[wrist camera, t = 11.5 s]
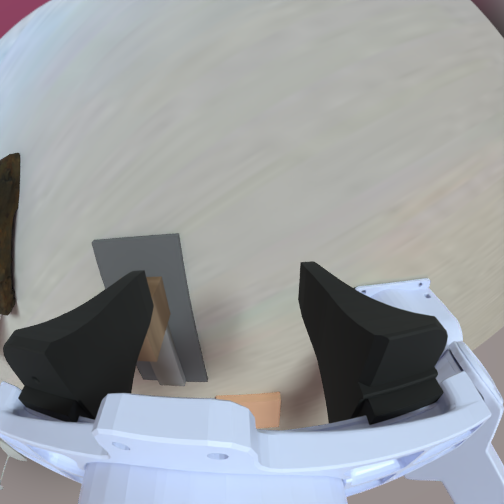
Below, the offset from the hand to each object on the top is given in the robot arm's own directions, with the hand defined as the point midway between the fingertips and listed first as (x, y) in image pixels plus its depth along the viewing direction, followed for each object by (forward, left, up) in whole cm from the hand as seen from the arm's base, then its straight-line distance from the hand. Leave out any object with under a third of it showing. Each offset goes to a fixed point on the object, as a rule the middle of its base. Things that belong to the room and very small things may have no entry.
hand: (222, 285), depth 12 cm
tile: (0, +23, -9) cm, 24 cm away
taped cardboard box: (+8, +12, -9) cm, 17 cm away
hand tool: (+25, -1, -10) cm, 27 cm away
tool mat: (+8, +10, -9) cm, 16 cm away
